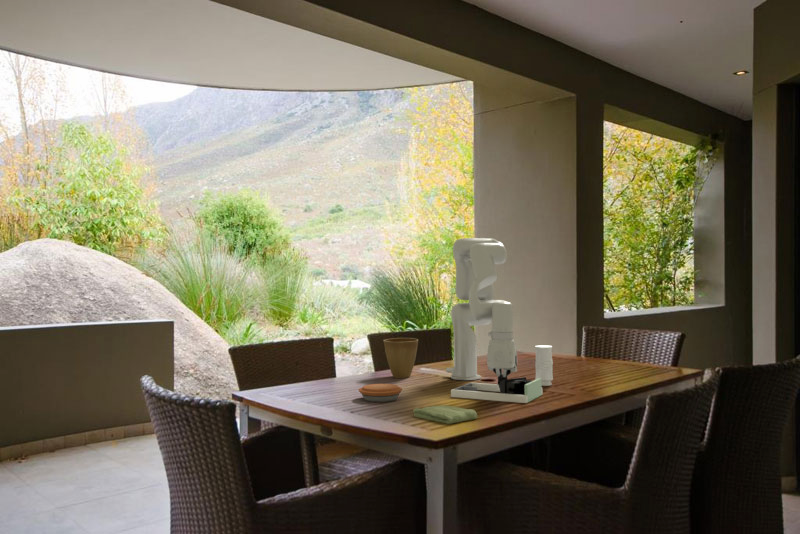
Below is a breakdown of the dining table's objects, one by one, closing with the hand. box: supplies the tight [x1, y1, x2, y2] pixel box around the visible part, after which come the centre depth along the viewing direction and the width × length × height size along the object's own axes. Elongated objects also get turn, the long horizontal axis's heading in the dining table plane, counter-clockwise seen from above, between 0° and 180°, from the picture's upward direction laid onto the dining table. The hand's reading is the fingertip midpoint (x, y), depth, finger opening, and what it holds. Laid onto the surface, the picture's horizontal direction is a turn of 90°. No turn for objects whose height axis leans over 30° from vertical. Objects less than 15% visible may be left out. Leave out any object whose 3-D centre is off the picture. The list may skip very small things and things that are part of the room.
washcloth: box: [412, 405, 478, 425], centre depth 207 cm, size 13×18×3 cm
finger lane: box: [450, 378, 544, 404], centre depth 242 cm, size 28×18×6 cm, turn 61°
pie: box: [358, 383, 403, 403], centre depth 239 cm, size 15×16×5 cm
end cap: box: [499, 376, 533, 395], centre depth 238 cm, size 10×7×7 cm
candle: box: [534, 344, 554, 387], centre depth 265 cm, size 7×7×15 cm
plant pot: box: [383, 337, 419, 379], centre depth 290 cm, size 15×15×16 cm
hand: (502, 387), depth 241 cm, fingers closed
